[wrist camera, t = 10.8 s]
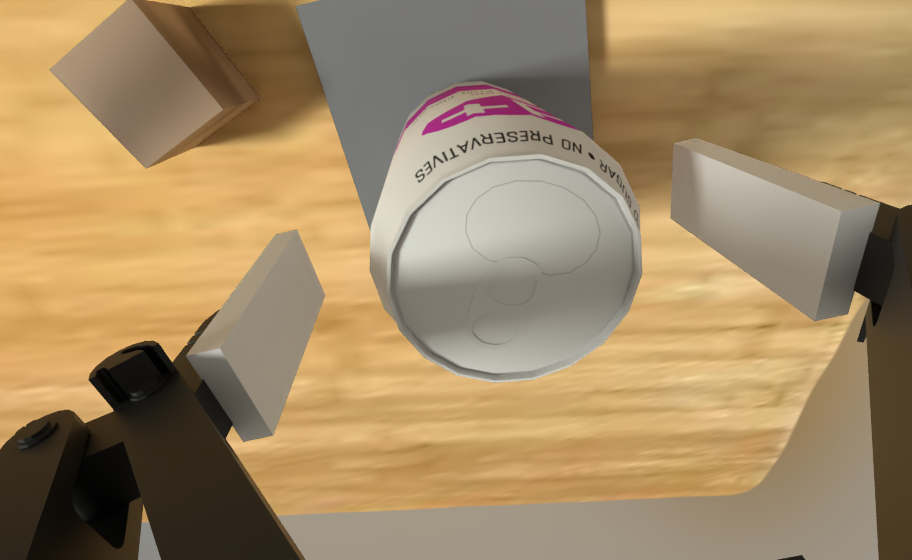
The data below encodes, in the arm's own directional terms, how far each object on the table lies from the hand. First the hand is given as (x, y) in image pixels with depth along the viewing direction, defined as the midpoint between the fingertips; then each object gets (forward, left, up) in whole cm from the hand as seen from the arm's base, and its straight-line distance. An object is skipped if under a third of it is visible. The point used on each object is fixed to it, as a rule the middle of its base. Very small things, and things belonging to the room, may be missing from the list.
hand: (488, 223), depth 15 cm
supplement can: (0, 0, -11) cm, 11 cm away
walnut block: (-7, -14, -12) cm, 20 cm away
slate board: (0, 0, -12) cm, 12 cm away
